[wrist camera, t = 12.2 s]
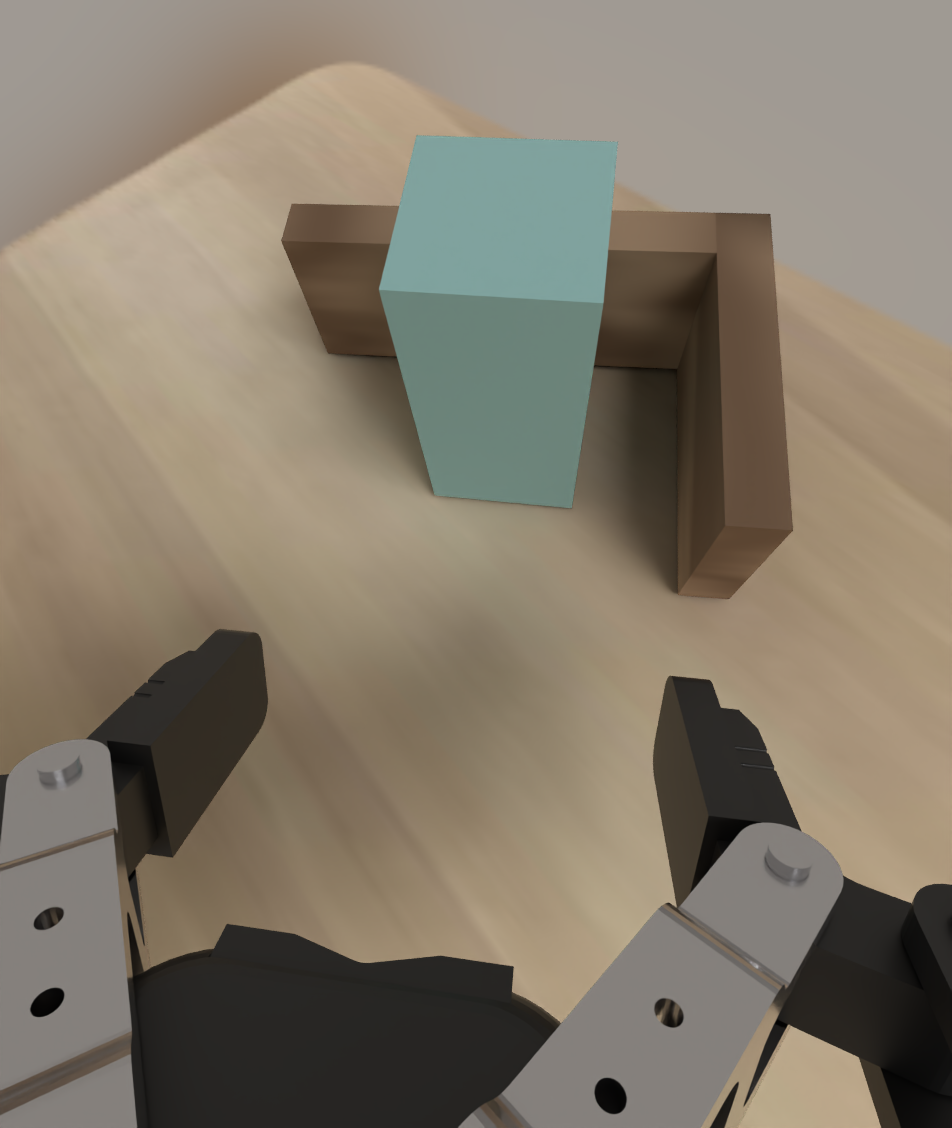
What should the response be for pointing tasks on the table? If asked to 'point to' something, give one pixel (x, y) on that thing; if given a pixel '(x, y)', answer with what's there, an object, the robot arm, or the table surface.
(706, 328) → the walnut corner
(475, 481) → the teal block
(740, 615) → the table surface
